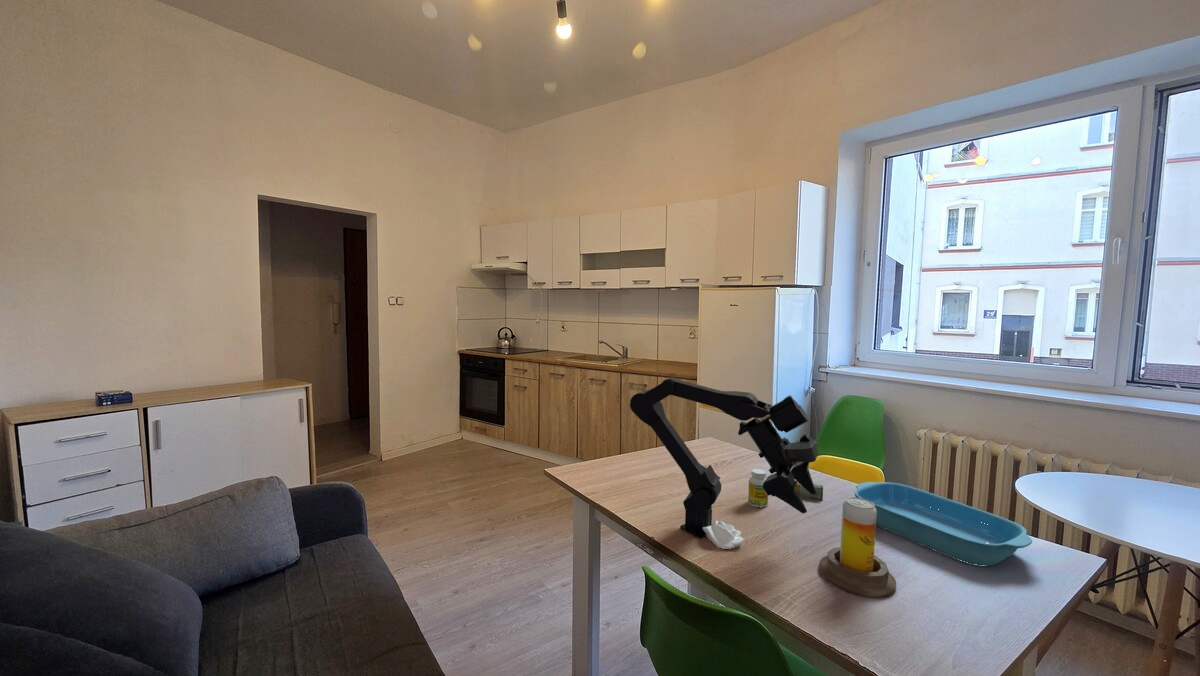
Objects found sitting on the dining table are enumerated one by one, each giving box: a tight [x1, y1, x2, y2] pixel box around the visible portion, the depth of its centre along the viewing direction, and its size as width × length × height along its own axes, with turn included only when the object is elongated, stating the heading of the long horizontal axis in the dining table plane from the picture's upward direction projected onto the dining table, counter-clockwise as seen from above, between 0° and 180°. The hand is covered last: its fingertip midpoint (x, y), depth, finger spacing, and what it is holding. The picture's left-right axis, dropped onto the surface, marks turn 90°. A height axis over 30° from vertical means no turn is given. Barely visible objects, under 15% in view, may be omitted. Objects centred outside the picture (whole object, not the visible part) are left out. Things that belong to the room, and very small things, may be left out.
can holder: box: [818, 546, 897, 599], centre depth 96 cm, size 14×14×4 cm
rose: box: [702, 520, 744, 550], centre depth 110 cm, size 10×4×10 cm
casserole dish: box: [854, 481, 1033, 566], centre depth 115 cm, size 37×22×7 cm, turn 29°
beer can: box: [840, 496, 877, 573], centre depth 95 cm, size 6×6×15 cm
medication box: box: [796, 481, 824, 502], centre depth 138 cm, size 12×3×4 cm, turn 68°
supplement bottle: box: [747, 468, 769, 509], centre depth 131 cm, size 5×5×10 cm
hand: (809, 502), depth 103 cm, fingers open, 9 cm apart
